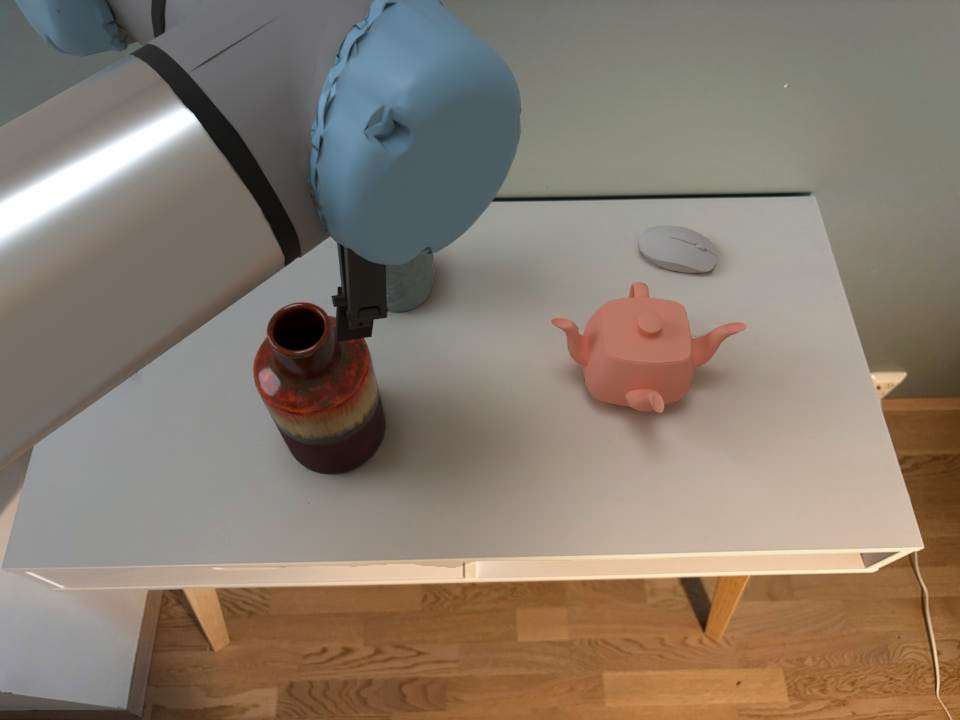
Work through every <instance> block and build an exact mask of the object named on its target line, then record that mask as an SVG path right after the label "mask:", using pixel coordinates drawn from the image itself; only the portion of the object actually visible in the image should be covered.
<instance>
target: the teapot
mask: <svg viewBox="0 0 960 720" xmlns="http://www.w3.org/2000/svg"><path fill="white" fill-rule="evenodd" d="M689 322H690V321H689V317H688V313H687V311H686V308H685V306H684V305H683V304H681V303H680V302H677V301H674V300H670V299H664V298H656V297H655V298H654V297H650V290H649V286H648V284H647V283H645V282H641V281H637V282H633V283H631V286H630V288H629V293H628V297H622V298H615V299H612V300H608V301H607V302H605V303H603V304H602V305H601V306H600V307H599V308H597V310H596V311H595V312H594V313H593V314H592V315H591V317H590V318H589V320H588V321H587V323H586V326H585V328H584V331H583V334H581V333H580V330H579V327H578V325H577V324H576V322H574V321H572V320H571V319H568V318H564V317H554V318H552V319H551V320H550V323H551V324H552V326H555V327H556V328H558V329H559V330H561V331H563V332H564V333H565V335H566V347H567V350H568V355H569V356H570V357H571V359H572V360H573V361H574V362H575V363H577V364H578V365H579V366H581V367H582V370H583V378H584V382H585V387H586V389H587V392H588V393H589V394H590V396H591V397H592V398H593V399H595V400H597V401H599V402H603V403H605V404H611V405H615V406H616V405H617V406H622V407H631V408H632V409H633V410H635V411H639V412H651V411H655V412H656V413H657V414H658V413H659V414H661V413H663V412H664V410H665V405H669V404H673V403H675V402H678V401H681V400H682V399H683V398H685V397H686V395H687V394H688V393H689V391H690V389H691V385H692V382H693V378H694V370H695V369H698V368H699V367H702V366H703V365H705V364H707V363H708V362H709V361H710V360H711V359H712V358H713V357H714V355H715V354H716V353H717V351H718V349H719V348H720V346H721V345H722V343H723V342H724V341H726V339H727V338H729V337H731V336H734V335H735V334H739V333H740V332H743V331H745V330H746V329H747V327H748V326H747V324H746V323H745V322H740V321H739V322H738V321H735V322H728V323H724V324H722V325H719V326H717V327H715V328H714V329H712V330H711V331H709V332H707V333H706V334H704V335H700V336H698V337H693V338H692V334H691V333H692V332H691V327H690V323H689Z"/></svg>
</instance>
